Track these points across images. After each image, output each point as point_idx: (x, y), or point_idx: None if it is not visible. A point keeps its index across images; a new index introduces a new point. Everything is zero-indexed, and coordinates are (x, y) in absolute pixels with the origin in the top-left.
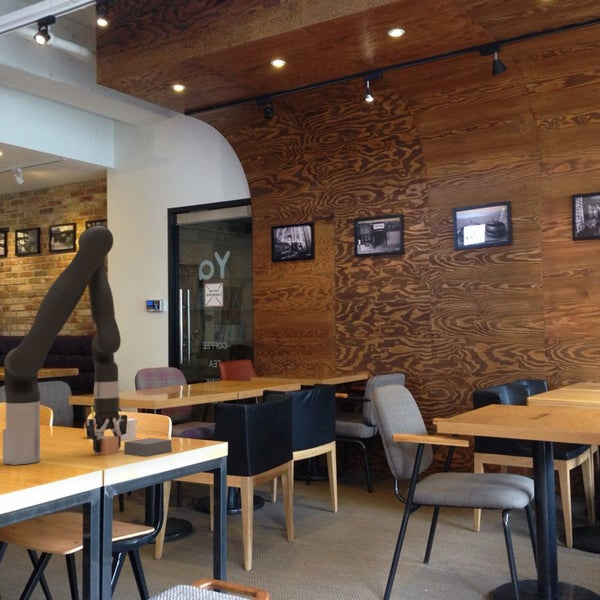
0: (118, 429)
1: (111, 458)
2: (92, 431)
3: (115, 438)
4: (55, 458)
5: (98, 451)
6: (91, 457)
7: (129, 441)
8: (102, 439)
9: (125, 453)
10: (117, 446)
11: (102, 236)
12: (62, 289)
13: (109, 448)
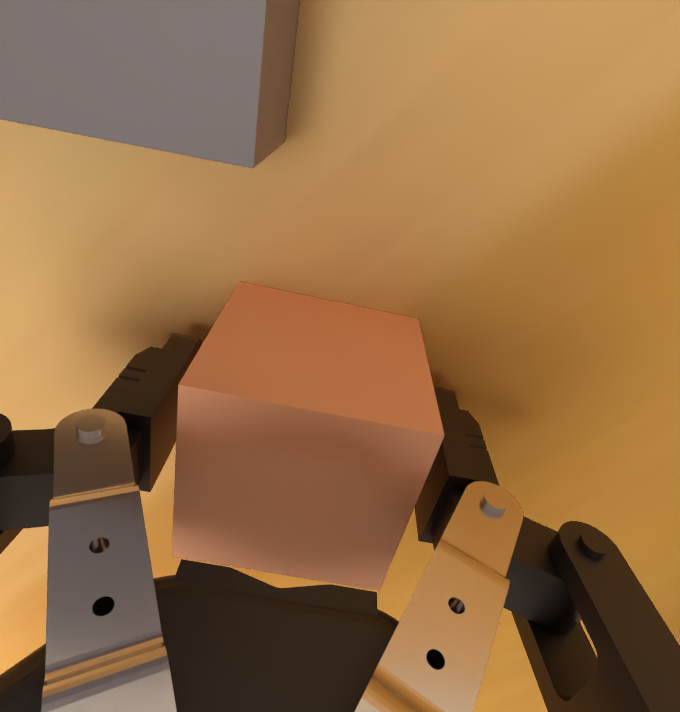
0: (91, 497)
1: (640, 58)
2: (649, 637)
3: (246, 384)
4: (646, 569)
5: (454, 394)
6: (578, 355)
7: (161, 113)
8: (424, 470)
9: (286, 118)
10: (239, 317)
11: None
12: None
13: (360, 339)
